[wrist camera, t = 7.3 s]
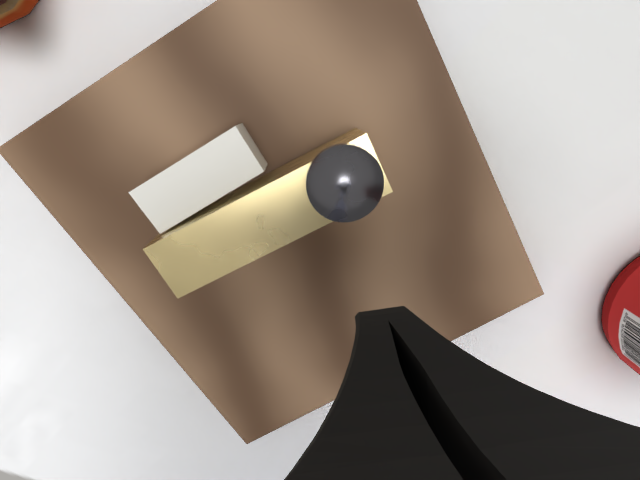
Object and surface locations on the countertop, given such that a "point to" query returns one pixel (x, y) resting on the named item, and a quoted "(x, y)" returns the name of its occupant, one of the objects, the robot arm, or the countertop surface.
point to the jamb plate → (277, 149)
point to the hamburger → (14, 10)
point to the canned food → (624, 315)
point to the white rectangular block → (200, 178)
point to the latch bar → (271, 212)
